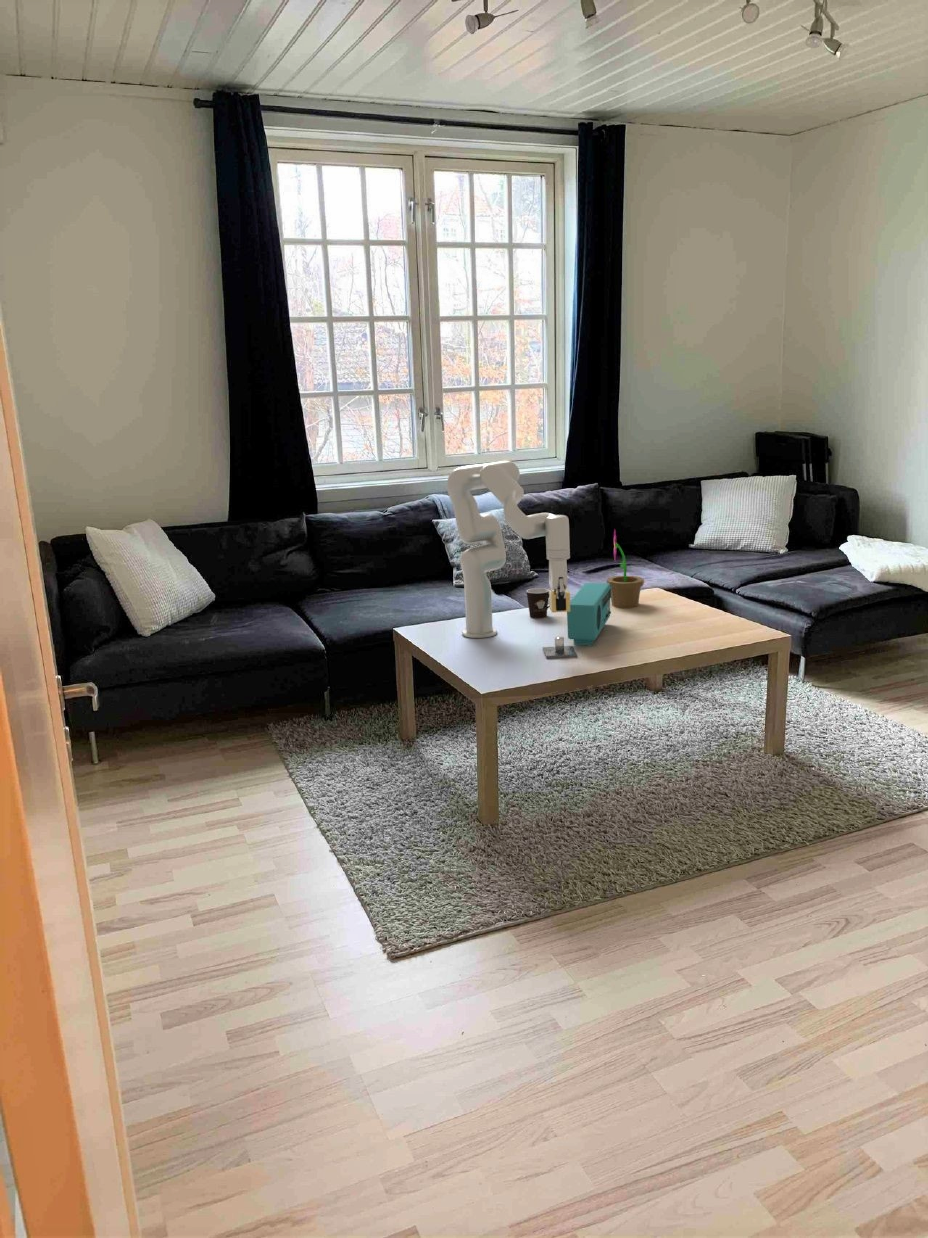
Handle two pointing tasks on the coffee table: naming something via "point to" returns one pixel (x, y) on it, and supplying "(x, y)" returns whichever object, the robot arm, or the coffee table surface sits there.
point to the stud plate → (560, 654)
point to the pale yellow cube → (553, 600)
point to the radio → (588, 612)
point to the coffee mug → (538, 602)
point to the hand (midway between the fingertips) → (559, 607)
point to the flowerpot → (624, 585)
